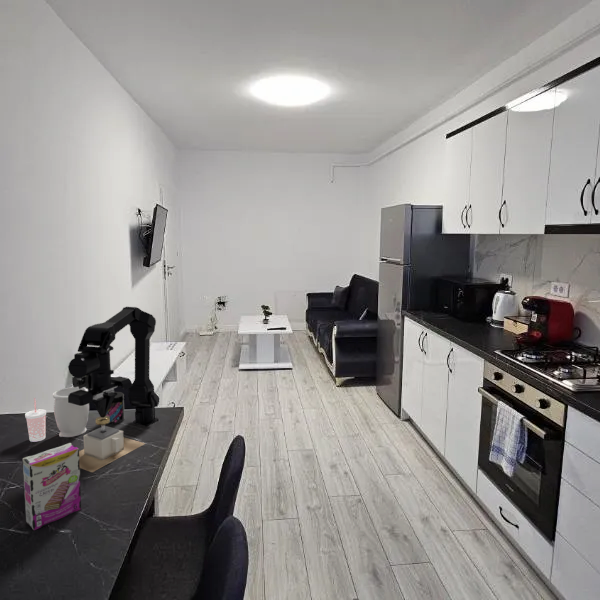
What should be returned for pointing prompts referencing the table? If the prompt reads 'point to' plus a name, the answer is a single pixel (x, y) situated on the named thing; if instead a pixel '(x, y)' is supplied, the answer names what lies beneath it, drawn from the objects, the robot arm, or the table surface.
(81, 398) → the robot arm
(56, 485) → the candy bar box
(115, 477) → the table surface
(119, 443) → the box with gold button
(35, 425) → the beverage cup
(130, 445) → the serving board
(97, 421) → the gold push button
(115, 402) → the supplement container
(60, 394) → the jar
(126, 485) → the table surface
